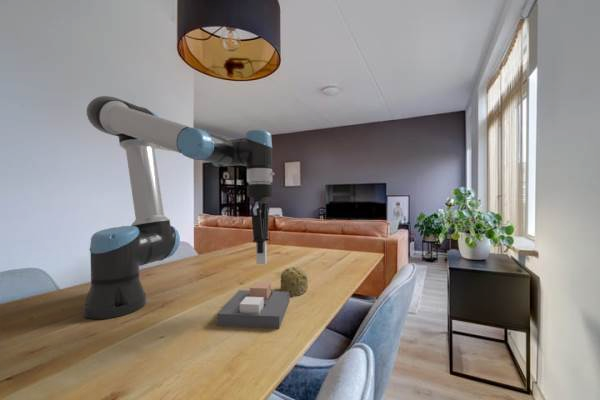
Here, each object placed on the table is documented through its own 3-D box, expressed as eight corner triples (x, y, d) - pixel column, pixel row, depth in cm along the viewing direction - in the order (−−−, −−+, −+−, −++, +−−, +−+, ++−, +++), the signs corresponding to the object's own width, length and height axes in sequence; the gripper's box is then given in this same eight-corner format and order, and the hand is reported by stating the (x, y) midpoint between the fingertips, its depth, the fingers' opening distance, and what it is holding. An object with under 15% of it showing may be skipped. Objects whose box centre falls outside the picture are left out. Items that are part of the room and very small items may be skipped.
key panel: (216, 325, 67) (216, 313, 67) (239, 299, 84) (239, 290, 84) (279, 328, 65) (279, 316, 65) (289, 301, 82) (289, 291, 82)
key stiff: (250, 299, 77) (250, 287, 77) (254, 293, 82) (254, 282, 82) (267, 300, 76) (267, 288, 76) (270, 294, 81) (270, 282, 81)
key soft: (239, 317, 68) (239, 303, 68) (245, 309, 73) (245, 296, 73) (258, 318, 67) (258, 304, 67) (263, 310, 72) (263, 297, 72)
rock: (276, 301, 92) (270, 281, 87) (290, 277, 100) (285, 257, 95) (301, 308, 88) (296, 287, 83) (313, 282, 96) (310, 262, 91)
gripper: (267, 182, 72) (269, 269, 72) (276, 184, 85) (278, 258, 85) (240, 183, 73) (242, 269, 73) (253, 185, 86) (255, 258, 86)
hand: (261, 263), depth 79 cm, fingers closed
